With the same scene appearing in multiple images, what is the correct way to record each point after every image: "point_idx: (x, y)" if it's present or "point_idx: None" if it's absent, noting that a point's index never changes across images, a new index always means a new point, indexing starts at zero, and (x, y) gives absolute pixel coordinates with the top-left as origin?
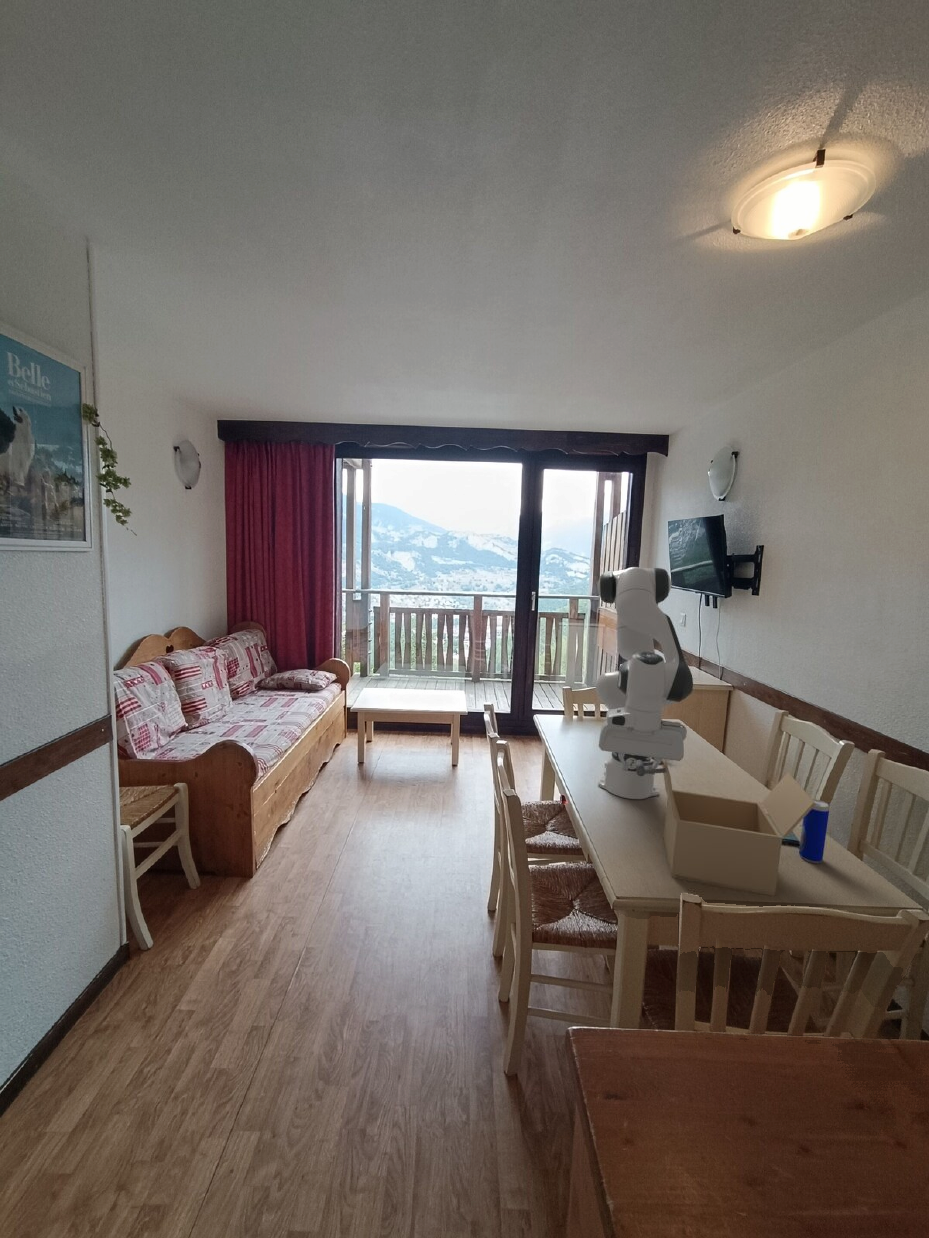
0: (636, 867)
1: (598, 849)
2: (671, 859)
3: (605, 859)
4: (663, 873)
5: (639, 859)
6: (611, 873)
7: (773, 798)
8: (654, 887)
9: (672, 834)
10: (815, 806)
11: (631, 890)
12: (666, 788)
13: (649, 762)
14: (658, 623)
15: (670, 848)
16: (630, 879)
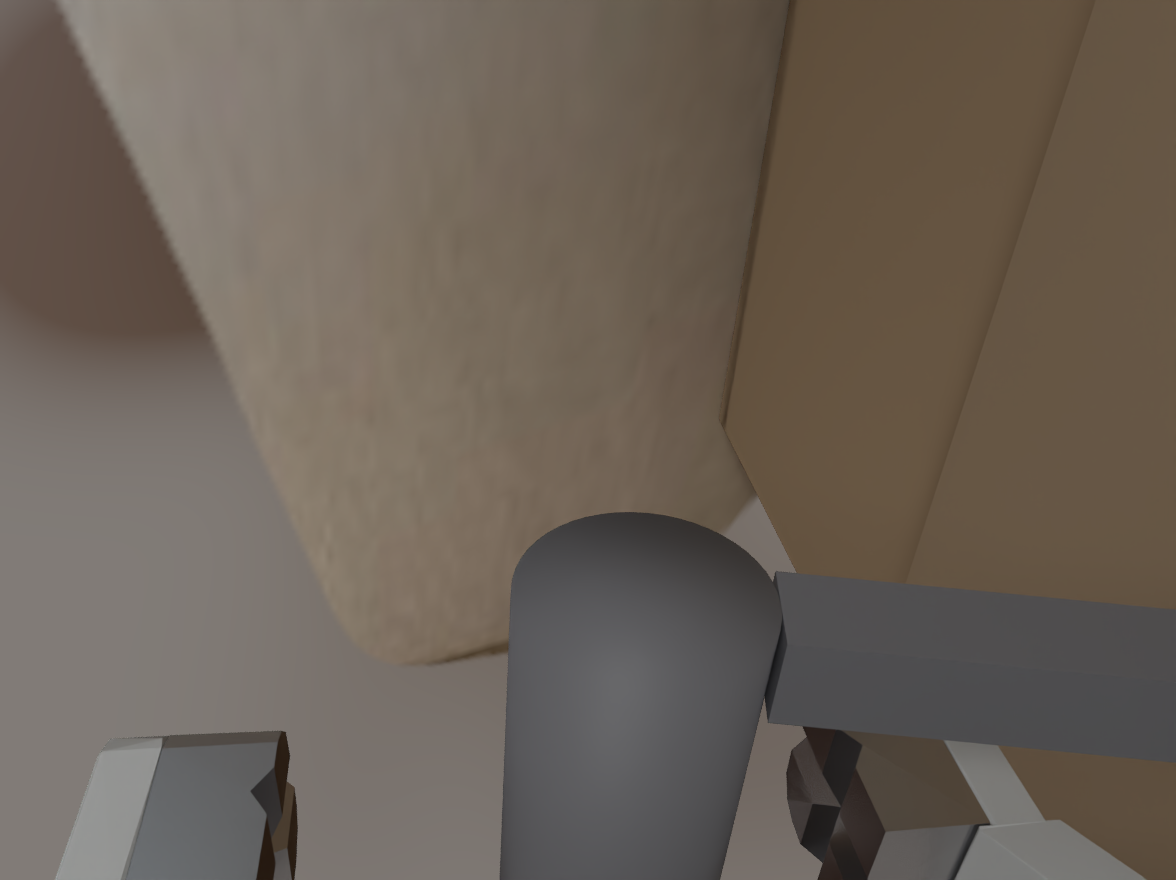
0: (495, 383)
1: (180, 225)
2: (756, 406)
3: (260, 356)
4: (675, 394)
5: (528, 271)
6: (320, 503)
7: None
8: None
9: (831, 440)
10: None
11: (447, 613)
12: (1088, 238)
13: (968, 740)
14: None
15: (785, 337)
16: (445, 523)
